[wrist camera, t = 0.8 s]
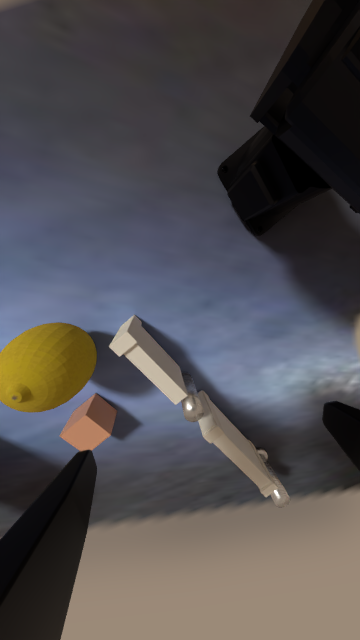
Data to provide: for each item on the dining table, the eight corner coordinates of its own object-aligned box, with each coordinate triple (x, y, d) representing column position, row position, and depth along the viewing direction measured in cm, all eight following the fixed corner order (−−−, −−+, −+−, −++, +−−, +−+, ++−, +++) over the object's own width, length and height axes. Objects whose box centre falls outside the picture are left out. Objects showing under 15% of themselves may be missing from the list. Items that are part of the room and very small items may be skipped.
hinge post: (185, 369, 20) (195, 401, 15) (194, 379, 20) (207, 413, 15) (173, 378, 20) (180, 413, 15) (183, 388, 20) (192, 425, 15)
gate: (191, 398, 20) (202, 436, 15) (202, 389, 20) (216, 425, 15) (243, 452, 23) (266, 497, 18) (253, 444, 23) (279, 488, 18)
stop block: (95, 393, 19) (85, 414, 16) (117, 410, 20) (110, 434, 17) (73, 411, 19) (59, 436, 16) (95, 428, 20) (85, 454, 17)
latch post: (259, 444, 23) (287, 489, 19) (269, 455, 24) (298, 500, 19) (244, 456, 24) (267, 503, 19) (254, 466, 24) (279, 514, 19)
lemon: (69, 379, 18) (7, 458, 10) (28, 333, 17) (-79, 385, 9) (118, 350, 18) (92, 408, 10) (82, 301, 17) (20, 326, 9)
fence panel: (134, 314, 17) (126, 331, 12) (180, 364, 19) (190, 396, 14) (121, 325, 18) (108, 346, 13) (168, 373, 19) (174, 409, 14)
